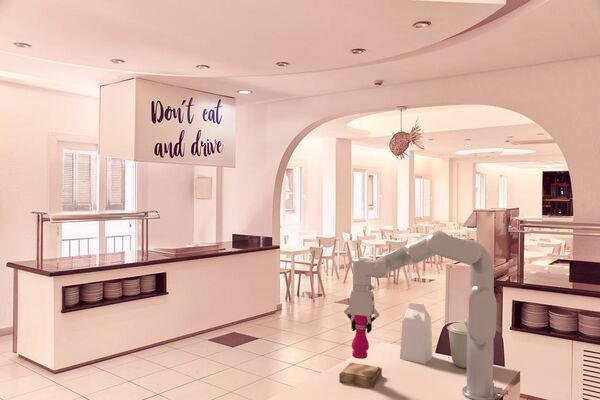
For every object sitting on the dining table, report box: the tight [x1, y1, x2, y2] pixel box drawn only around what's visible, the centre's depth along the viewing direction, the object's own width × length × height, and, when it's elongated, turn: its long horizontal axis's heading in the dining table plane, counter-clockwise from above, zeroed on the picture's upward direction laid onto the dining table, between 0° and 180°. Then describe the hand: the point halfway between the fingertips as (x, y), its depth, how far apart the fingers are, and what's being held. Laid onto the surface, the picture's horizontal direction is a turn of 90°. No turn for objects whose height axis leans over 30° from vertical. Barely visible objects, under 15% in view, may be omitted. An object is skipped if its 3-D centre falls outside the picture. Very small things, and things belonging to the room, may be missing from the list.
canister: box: [446, 318, 468, 370], centre depth 212 cm, size 18×18×21 cm
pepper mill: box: [351, 315, 370, 360], centre depth 195 cm, size 7×7×20 cm
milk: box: [399, 301, 433, 365], centre depth 222 cm, size 12×12×26 cm
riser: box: [338, 362, 383, 389], centre depth 195 cm, size 14×14×4 cm
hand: (361, 330), depth 195 cm, fingers closed on pepper mill, 5 cm apart
